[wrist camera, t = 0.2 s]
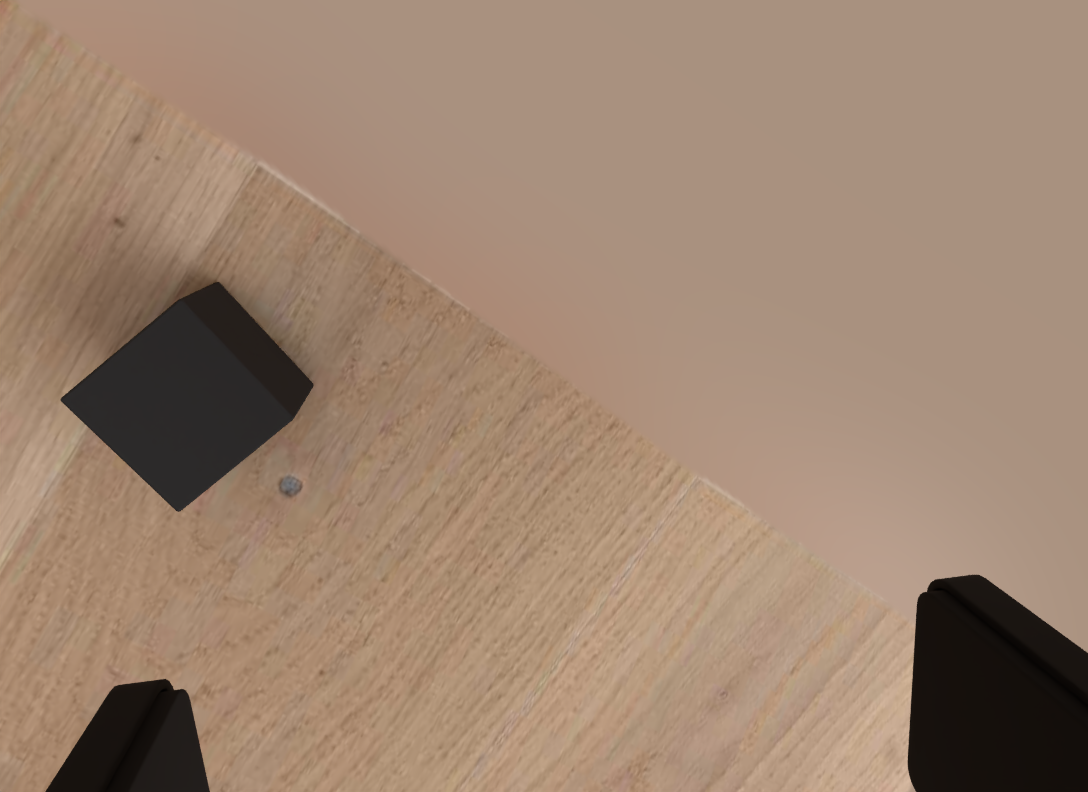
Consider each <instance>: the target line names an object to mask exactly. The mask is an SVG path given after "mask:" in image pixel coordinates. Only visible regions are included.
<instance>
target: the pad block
mask: <svg viewBox="0 0 1088 792" xmlns="http://www.w3.org/2000/svg"><path fill="white" fill-rule="evenodd" d="M313 386H314V385H313V383H312V382H311V381H310V380H309V379H308V378H307V377H306V376H305V374H304V373H303V372H302V371H301V370H300V369H299V368H298V367H297V366H296V365H295V364H294V363H293V362H292V360H291V359H290V358H289V357H288V356H287V355H286V354H285V353H284V352H283V351H282V350H281V349H280V348H279V346H278V345H277V344H276V343H275V342H274V341H273V340H272V339H271V338H270V337H269V336H268V335H267V333H266V332H265V331H264V330H263V329H262V328H261V327H260V326H259V325H258V324H257V323H256V322H255V321H254V319H253V318H252V317H251V316H250V315H249V314H248V313H247V312H246V311H245V310H244V309H243V308H242V307H241V305H240V304H239V303H238V302H237V301H236V300H235V299H234V298H233V297H232V296H231V295H230V294H229V293H228V291H227V290H226V289H225V288H224V287H223V286H222V285H221V284H220V283H219V282H216V283H214V284H211V285H209V286H207V287H205V288H203V289H201V290H199V291H196V292H194V293H192V294H190V295H188V296H186V297H183V298H181V299H179V300H178V301H177V302H175V303H174V304H173V305H172V306H171V307H169V308H168V309H167V310H166V311H165V312H163V313H162V314H161V315H160V316H159V317H158V318H156V319H155V320H154V321H153V322H152V323H150V324H149V325H148V326H147V327H146V328H144V329H143V330H142V331H141V332H140V333H138V334H137V335H136V336H135V337H134V338H132V339H131V340H130V341H129V342H128V343H126V344H125V345H124V346H123V347H122V348H120V349H119V350H118V351H117V352H116V353H114V354H113V355H112V356H111V357H110V358H108V359H107V360H106V361H105V362H104V363H103V364H101V365H100V366H99V367H98V368H97V369H95V370H94V371H93V372H92V373H91V374H89V375H88V376H87V377H86V378H85V379H83V380H82V381H81V382H80V383H79V384H77V385H76V386H75V387H74V388H73V389H71V390H70V391H69V392H68V393H67V394H65V395H64V396H63V397H62V398H61V402H63V403H64V404H65V405H66V406H67V407H68V408H69V409H70V410H71V411H72V412H73V413H74V414H75V415H76V416H77V417H78V418H79V419H80V420H81V421H82V422H84V423H85V424H86V425H87V426H88V427H89V428H90V429H91V430H92V431H93V432H94V433H95V434H96V435H97V436H98V437H99V438H100V439H101V440H102V441H104V442H105V443H106V444H107V445H108V446H109V447H110V448H111V449H112V450H113V451H114V452H115V453H116V454H117V455H118V456H119V457H120V458H121V459H122V460H123V461H125V462H126V463H127V464H128V465H129V466H130V467H131V468H132V469H133V470H134V471H135V472H136V473H137V474H138V475H139V476H140V477H141V478H142V479H143V480H145V481H146V482H147V483H148V484H149V485H150V486H151V487H152V488H153V489H154V490H155V491H156V492H157V493H158V494H159V495H160V496H161V497H162V498H163V499H164V500H166V501H167V502H168V503H169V504H170V505H171V506H172V507H173V508H174V509H175V510H176V511H178V512H179V511H181V510H183V509H184V508H185V507H186V506H187V505H189V504H190V503H191V502H192V501H194V500H195V499H196V498H197V497H198V496H200V495H201V494H202V493H203V492H205V491H206V490H207V489H208V488H210V487H211V486H212V485H213V484H214V483H216V482H217V481H218V480H219V479H221V478H222V477H223V476H224V475H226V474H227V473H228V472H229V471H230V470H232V469H233V468H234V467H235V466H237V465H238V464H239V463H240V462H242V461H243V460H244V459H245V458H246V457H248V456H249V455H250V454H251V453H253V452H254V451H255V450H256V449H258V448H259V447H260V446H261V445H262V444H264V443H265V442H266V441H267V440H269V439H270V438H271V437H272V436H274V435H275V434H276V433H277V432H278V431H280V430H281V429H282V428H283V427H285V426H286V425H287V424H288V423H290V422H291V421H292V420H293V419H294V417H295V416H296V414H297V412H298V411H299V409H300V407H301V406H302V404H303V402H304V401H305V399H306V398H307V396H308V394H309V393H310V391H311V389H312V388H313Z"/></svg>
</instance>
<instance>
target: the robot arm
mask: <svg viewBox="0 0 1088 792" xmlns="http://www.w3.org/2000/svg"><path fill="white" fill-rule="evenodd" d="M908 771H909V776H910V779H911V782H912V784H913V786H914V789H915V791H916V792H1088V653H1087V652H1086V651H1084V650H1083V649H1081V648H1080V647H1079V646H1077V645H1076V644H1075V643H1073V642H1072V641H1071V640H1069V639H1068V638H1066V637H1065V636H1063V635H1062V634H1061V633H1060V632H1058V631H1057V630H1055V629H1054V628H1053V627H1051V626H1050V625H1049V624H1047V623H1046V622H1045V621H1043V620H1042V619H1040V618H1039V617H1038V616H1036V615H1035V614H1034V613H1032V612H1031V611H1030V610H1028V609H1027V608H1025V607H1024V606H1023V605H1021V604H1020V603H1019V602H1017V601H1016V600H1014V599H1013V598H1012V597H1010V596H1009V595H1008V594H1006V593H1005V592H1004V591H1002V590H1001V589H999V588H998V587H997V586H995V585H994V584H992V583H991V582H990V581H989V580H987V579H986V578H984V577H982V576H980V575H968V576H960V577H952V578H945V579H937V580H934V581H932V582H931V583H930V585H929V587H928V590H927V592H924V593H922V594H920V596H919V598H918V602H917V613H916V630H915V646H914V663H913V680H912V697H911V714H910V731H909V748H908ZM46 792H210V791H209V786H208V781H207V777H206V772H205V767H204V763H203V758H202V753H201V749H200V744H199V739H198V735H197V730H196V726H195V721H194V716H193V712H192V707H191V702H190V699H189V695H188V693H187V692H186V690H184V689H180V690H174V689H173V686H172V685H171V683H170V681H168V680H166V679H162V680H154V681H146V682H138V683H131V684H123V685H118V686H115V687H114V688H113V689H112V690H111V691H110V692H109V694H108V695H107V697H106V699H105V700H104V702H103V703H102V705H101V706H100V708H99V709H98V711H97V713H96V714H95V716H94V717H93V719H92V720H91V722H90V723H89V725H88V726H87V728H86V730H85V731H84V733H83V734H82V736H81V737H80V739H79V740H78V742H77V744H76V745H75V747H74V748H73V750H72V751H71V753H70V754H69V756H68V758H67V759H66V761H65V762H64V764H63V765H62V767H61V768H60V770H59V771H58V773H57V775H56V776H55V778H54V779H53V781H52V782H51V784H50V785H49V787H48V789H47V790H46Z"/></svg>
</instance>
